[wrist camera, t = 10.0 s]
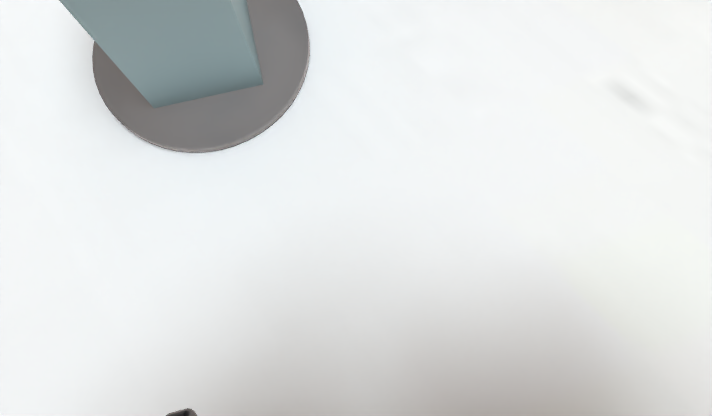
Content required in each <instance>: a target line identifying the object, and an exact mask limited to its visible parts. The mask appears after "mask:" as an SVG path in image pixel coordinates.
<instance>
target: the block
mask: <svg viewBox="0 0 712 416" xmlns="http://www.w3.org/2000/svg"><path fill="white" fill-rule="evenodd" d="M60 2H61V3H62V4H63V5H64V6H65V7H66V8H67V10H68V11H69V12H70V13H71V14H72V15H73V16H74V18H75V19H76V20H77V21H78V22H79V23H80V24H81V26H82V27H83V28H84V29H85V30H86V31H87V32H88V34H89V35H90V36H91V37H92V38H93V39H94V40H95V42H96V43H97V44H98V45H99V46H100V47H101V48H102V50H103V51H104V52H105V53H106V54H107V55H108V56H109V58H110V59H111V60H112V61H113V62H114V63H115V64H116V66H117V67H118V68H119V69H120V70H121V71H122V72H123V74H124V75H125V76H126V77H127V78H128V79H129V80H130V82H131V83H132V84H133V85H134V86H135V87H136V88H137V90H138V91H139V92H140V93H141V94H142V95H143V96H144V97H145V99H146V100H147V101H148V102H149V103H150V104H151V105H152V107H153V108H158V107H162V106H167V105H172V104H176V103H181V102H185V101H190V100H194V99H199V98H204V97H208V96H213V95H217V94H222V93H226V92H231V91H236V90H240V89H245V88H249V87H254V86H258V85H263V80H262V75H261V70H260V65H259V60H258V55H257V50H256V46H255V41H254V36H253V31H252V26H251V21H250V16H249V11H248V6H247V1H246V0H60Z"/></svg>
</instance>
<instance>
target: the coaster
mask: <svg viewBox="0 0 712 416" xmlns="http://www.w3.org/2000/svg"><path fill="white" fill-rule="evenodd" d="M246 1H247V6H248V11H249V16H250V21H251V26H252V31H253V36H254V41H255V46H256V50H257V55H258V60H259V65H260V70H261V75H262V80H263V85H258V86H254V87H249V88H245V89H240V90H236V91H231V92H226V93H222V94H217V95H213V96H208V97H204V98H199V99H194V100H190V101H185V102H181V103H176V104H172V105H167V106H162V107H158V108H153V107H152V105H151V104H150V103H149V102H148V101H147V100H146V99H145V97H144V96H143V95H142V94H141V93H140V92H139V91H138V90H137V88H136V87H135V86H134V85H133V84H132V83H131V82H130V80H129V79H128V78H127V77H126V76H125V75H124V74H123V72H122V71H121V70H120V69H119V68H118V67H117V66H116V64H115V63H114V62H113V61H112V60H111V59H110V58H109V56H108V55H107V54H106V53H105V52H104V51H103V50H102V48H101V47H100V46H99V45H98V44H97V43H96V42H95V41H94V47H93V72H94V77H95V82H96V85H97V88H98V90H99V93H100V95H101V97H102V99H103V101H104V103H105V104H106V106H107V107H108V108H109V110H110V111H111V112H112V114H113V115H114V116H115V117H116V118H117V119H118V120H119V121H120V122H121V123H122V124H123V125H124V126H125V127H126V128H128V129H129V130H130V131H131V132H133V133H134V134H135V135H137V136H138V137H140V138H142V139H144V140H145V141H147V142H149V143H151V144H154V145H157V146H159V147H162V148H165V149H170V150H174V151H181V152H192V153H193V152H210V151H216V150H222V149H225V148H229V147H232V146H236V145H238V144H240V143H243V142H245V141H248V140H250V139H251V138H253V137H255V136H257V135H258V134H260V133H262V132H263V131H264V130H266V129H267V128H268V127H270V126H271V125H272V124H274V123H275V122H276V121H277V120H278V119H279V118H280V117H281V116H282V115H283V114H284V113H285V111H286V110H287V109H288V108H289V107H290V105H291V104H292V103H293V101H294V99H295V98H296V96H297V94H298V93H299V91H300V89H301V86H302V84H303V82H304V79H305V76H306V72H307V69H308V63H309V56H310V43H309V36H308V30H307V25H306V21H305V18H304V15H303V11H302V9H301V7H300V5H299V3H298V1H297V0H246Z"/></svg>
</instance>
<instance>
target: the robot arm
mask: <svg viewBox="0 0 712 416" xmlns="http://www.w3.org/2000/svg"><path fill="white" fill-rule="evenodd" d="M166 416H197V415H196V413H195V412H194V411H193V410H192V409H188V408H187V409H184V410H180V411H176V412H172V413H169V414H167V415H166Z"/></svg>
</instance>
